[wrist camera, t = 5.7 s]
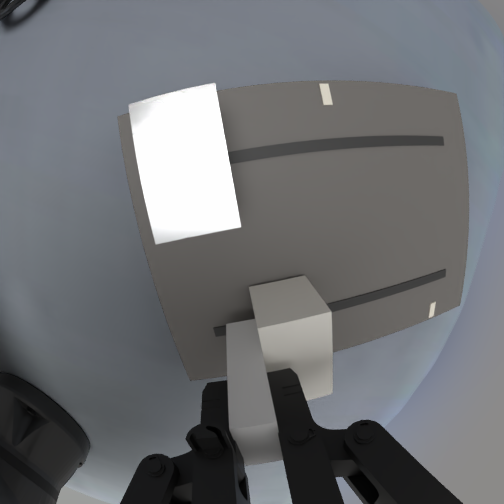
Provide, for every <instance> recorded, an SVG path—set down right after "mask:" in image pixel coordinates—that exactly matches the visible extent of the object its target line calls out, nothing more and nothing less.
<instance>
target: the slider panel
mask: <svg viewBox="0 0 504 504" xmlns="http://www.w3.org/2000/svg"><path fill="white" fill-rule="evenodd" d="M216 92H217V97H218V103H219V109H220V114H221V120H222V125H223V131H224V136H225V142H226V147H227V153H228V158H229V164H230V169H231V175H232V180H233V186H234V191H235V196H236V202H237V207H238V213H239V218H240V223H241V227H239V228H234V229H229V230H224V231H218V232H213V233H209V234H204V235H199V236H194V237H189V238H184V239H179V240H175V241H170V242H165V243H160V244H155V240H154V236H153V232H152V228H151V224H150V220H149V216H148V211H147V207H146V203H145V198H144V193H143V189H142V184H141V179H140V174H139V169H138V163H137V158H136V152H135V146H134V140H133V134H132V127H131V120H130V113H127V114H124V115H121V116H118V125H119V132H120V139H121V145H122V151H123V157H124V163H125V168H126V173H127V178H128V183H129V188H130V193H131V198H132V202H133V207H134V211H135V215H136V219H137V223H138V227H139V231H140V235H141V239H142V243H143V247H144V250H145V254H146V257H147V261H148V264H149V268H150V271H151V274H152V278H153V281H154V284H155V287H156V290H157V294H158V297H159V300H160V303H161V306H162V309H163V312H164V314H165V317H166V320H167V323H168V326H169V328H170V331H171V334H172V337H173V339H174V342H175V345H176V347H177V350H178V352H179V355H180V357H181V360H182V362H183V365H184V367H185V370H186V372H187V374H188V377H189V379H190V381H192V380H201V379H208V378H215V377H222V376H227V344H226V324H229V323H235V322H240V321H245V320H251V319H255V316H254V311H253V306H252V301H251V296H250V291H249V287H251V286H256V285H261V284H266V283H271V282H276V281H281V280H285V279H290V278H295V277H299V276H304V275H305V276H306V277H307V279H308V280H309V281H310V283H311V284H312V285H313V287H314V288H315V290H316V291H317V292H318V294H319V295H320V296H321V298H322V299H323V301H324V302H325V303H326V305H327V306H328V307H329V309H330V310H331V312H332V343H333V352H336V351H340V350H343V349H347V348H350V347H353V346H356V345H359V344H363V343H366V342H369V341H372V340H375V339H378V338H381V337H383V336H386V335H389V334H392V333H395V332H397V331H400V330H403V329H405V328H408V327H411V326H413V325H416V324H418V323H421V322H423V321H425V320H428V319H430V318H433V317H435V316H437V315H440V314H442V313H444V312H446V311H449V310H451V309H453V308H455V307H457V306H459V305H460V302H461V296H462V290H463V284H464V276H465V268H466V259H467V247H468V231H469V183H468V167H467V156H466V146H465V138H464V131H463V125H462V119H461V113H460V108H459V103H458V99H457V94H456V93H451V92H446V91H441V90H436V89H430V88H424V87H417V86H410V85H402V84H392V83H381V82H366V81H298V82H283V83H271V84H261V85H253V86H245V87H238V88H231V89H225V90H219V91H216Z"/></svg>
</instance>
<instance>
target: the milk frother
mask: <svg viewBox="0 0 504 504" xmlns="http://www.w3.org/2000/svg"><path fill="white" fill-rule="evenodd" d="M11 1H12V0H0V20H1V19H3V18H4V17H6V16H7V15H8V14H9V13H11V12H12V11H13V10H14V9H16V8H17V7H18V6H20V5H21V4H22V3H23V2H25V1H26V0H14V1H12V2H11ZM10 2H11V3H10ZM9 3H10V4H9ZM8 4H9V5H8Z"/></svg>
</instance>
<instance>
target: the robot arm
mask: <svg viewBox="0 0 504 504" xmlns="http://www.w3.org/2000/svg"><path fill="white" fill-rule="evenodd" d="M226 344H227V380H225V381H218V382H211V383H207V385H206V387H205V388H204V390H203V392H202V408H201V409H202V410H201V424H199V425H197V426H195V427H193V428H192V429H191V430H190V431H189V432H188V433H187V436H186V441H187V442H188V444H189V445H190V447H191V448H192V450H191V451H190V452H188V453H186V454H183V455H180V456H177V457H173V458H169V457H168V456H165V455H163V454H152V455H149V456H147V457H146V458H144V459H143V460H142V461H141V463H140V464H139V466H138V468H137V470H136V472H135V474H134V476H133V478H132V480H131V482H130V484H129V486H128V488H127V490H126V492H125V494H124V496H123V499H122V501H121V503H120V504H250V495H249V486H248V478H247V475H246V473H245V468H244V463H245V465H246V466H248V465H255V464H262V463H268V462H274V461H279V460H283V461H284V465H285V470H286V475H287V480H288V484H289V489H290V494H291V498H292V503H293V504H344V502H343V499H342V496H341V493H340V490H339V487H338V484H337V481H336V478H335V477H343V478H344V480H345V481H346V482H347V483H348V485H349V486H350V487H351V489H352V490H353V491H354V492H355V494H356V495H357V496H358V497H359V499H360V500H361V501H362V503H363V504H463V503H462V502H461V501H460V500H459V499H457V498H456V497H455V496H454V495H453V494H452V493H451V492H450V491H449V490H448V489H446V488H445V487H444V486H443V485H442V484H441V483H440V482H439V481H438V480H437V479H436V478H435V477H434V476H432V474H430V473H429V472H428V471H427V470H426V469H425V468H424V467H423V466H422V465H421V464H420V463H419V462H418V461H417V460H416V459H415V458H414V457H413V456H412V455H411V454H410V453H409V452H408V451H407V450H406V449H404V448H403V447H402V446H401V445H400V444H399V443H398V442H397V441H396V440H395V439H394V438H393V437H392V436H391V435H390V434H389V433H388V432H387V431H386V430H385V429H384V428H383V427H382V426H381V425H380V424H378V423H377V422H375V421H371V420H360V421H358V422H355V423H353V424H352V425H351V426H349V427H348V428H347V429H341V430H331V429H325V428H322V427H320V426H318V425H317V424H316V423H315V422H314V420H313V418H312V416H311V413H310V410H309V407H308V404H307V401H306V398H305V395H304V392H303V390H302V387H301V384H300V381H299V378H298V375H297V374H296V373H295V372H294V371H293V370H292V369H291V368H287V369H282V370H277V371H272V372H267V373H266V368H265V363H264V358H263V353H262V348H261V343H260V338H259V334H258V329H257V324H256V320H255V319H251V320H245V321H240V322H235V323H229V324H226ZM89 449H90V445H89V441H88V439H87V437H86V435H85V434H84V432H83V431H82V429H81V428H80V427H79V426H78V425H77V423H76V422H75V421H74V420H73V419H72V418H71V417H70V416H69V415H68V414H67V413H66V412H65V411H64V410H63V409H61V408H60V407H59V406H58V405H57V404H56V403H54V402H53V401H52V400H51V399H50V398H48V397H47V396H46V395H44V394H43V393H42V392H40V391H39V390H37V389H36V388H35V387H33V386H31V385H30V384H28V383H27V382H25V381H23V380H21V379H19V378H17V377H15V376H13V375H10V374H6V373H0V504H56V502H57V499H58V495H59V493H60V490H61V488H62V487H63V486H64V485H65V484H66V483H67V481H68V480H69V479H70V478H71V477H72V475H73V474H74V473H75V471H76V470H77V468H79V467H81V466H82V465H83V464H84V463H85V461H86V458H87V455H88V452H89Z"/></svg>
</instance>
